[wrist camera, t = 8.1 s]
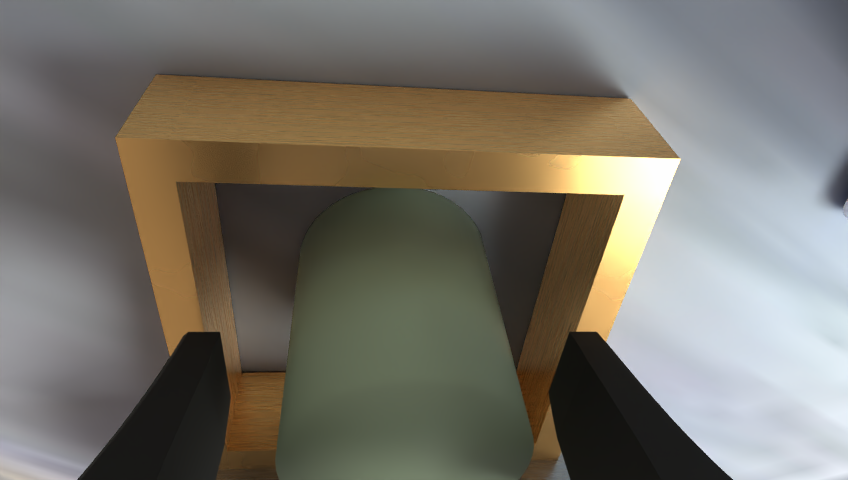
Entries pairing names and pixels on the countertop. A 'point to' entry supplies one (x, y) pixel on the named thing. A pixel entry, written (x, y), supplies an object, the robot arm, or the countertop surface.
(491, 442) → the spout can
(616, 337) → the countertop surface
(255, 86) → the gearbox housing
